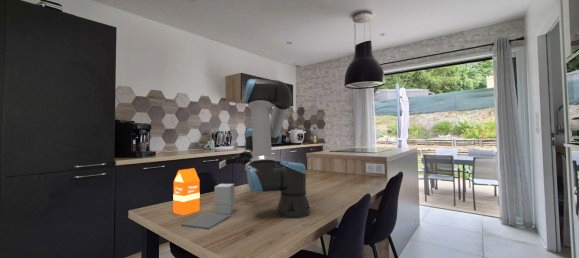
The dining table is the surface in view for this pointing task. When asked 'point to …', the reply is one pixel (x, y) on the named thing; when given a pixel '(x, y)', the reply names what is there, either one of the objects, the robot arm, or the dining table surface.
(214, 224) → the mat
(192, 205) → the orange juice
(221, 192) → the supplement box
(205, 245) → the dining table surface
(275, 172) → the robot arm
